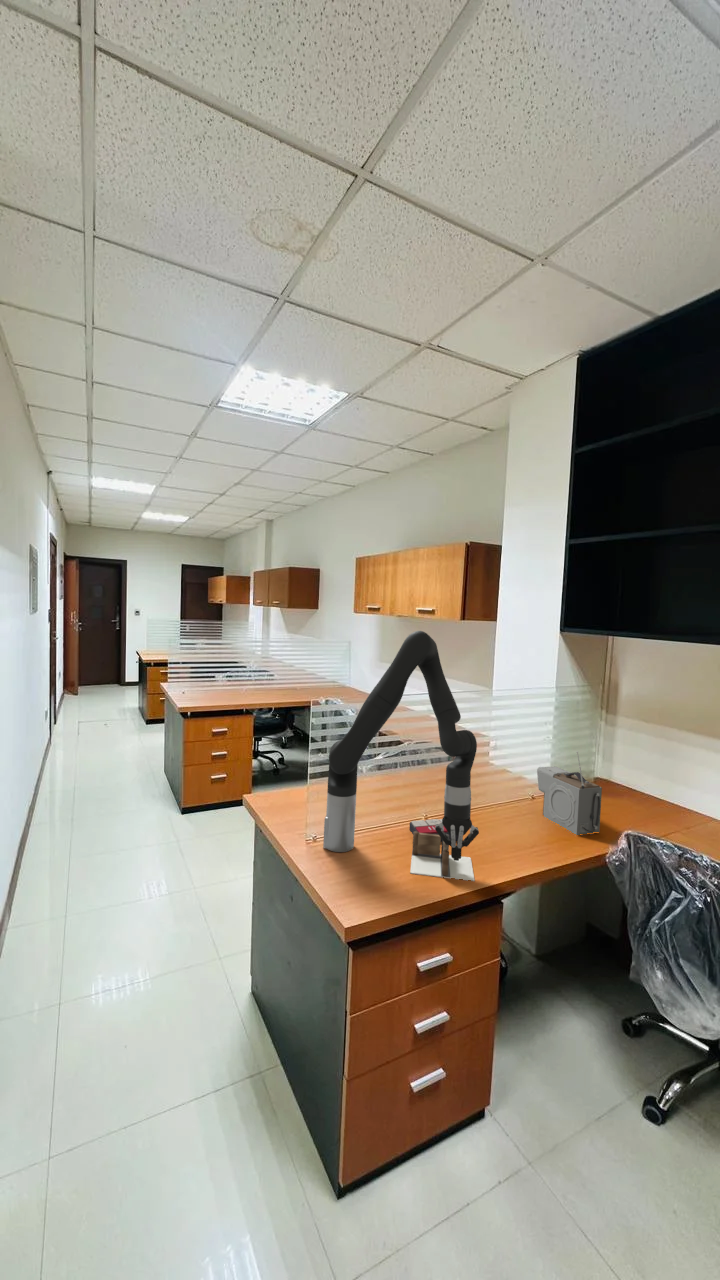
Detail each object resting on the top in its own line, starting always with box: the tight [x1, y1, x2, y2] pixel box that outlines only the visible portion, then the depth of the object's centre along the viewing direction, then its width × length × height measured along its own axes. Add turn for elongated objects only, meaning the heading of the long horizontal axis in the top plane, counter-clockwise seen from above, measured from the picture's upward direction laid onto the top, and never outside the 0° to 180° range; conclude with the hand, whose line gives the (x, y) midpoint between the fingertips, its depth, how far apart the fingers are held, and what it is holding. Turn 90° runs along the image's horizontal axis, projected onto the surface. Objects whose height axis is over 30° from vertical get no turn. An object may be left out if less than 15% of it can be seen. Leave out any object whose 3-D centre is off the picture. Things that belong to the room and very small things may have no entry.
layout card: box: [409, 853, 476, 882], centre depth 143 cm, size 18×14×1 cm
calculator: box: [409, 818, 458, 843], centre depth 164 cm, size 11×4×15 cm
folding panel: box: [442, 841, 450, 876], centre depth 141 cm, size 11×2×6 cm, turn 170°
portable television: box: [536, 751, 603, 836], centre depth 181 cm, size 12×24×30 cm, turn 18°
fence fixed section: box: [411, 831, 450, 858], centre depth 148 cm, size 11×2×7 cm, turn 81°
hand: (455, 859), depth 139 cm, fingers closed
